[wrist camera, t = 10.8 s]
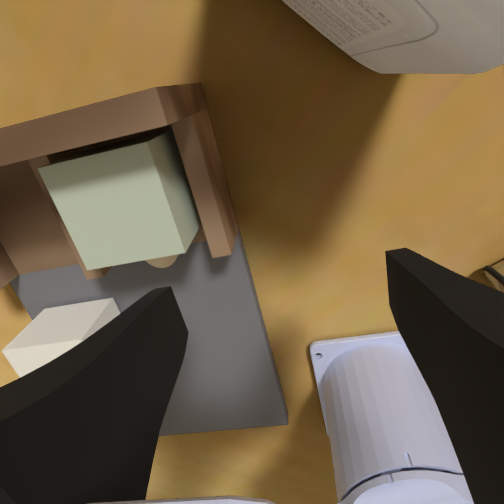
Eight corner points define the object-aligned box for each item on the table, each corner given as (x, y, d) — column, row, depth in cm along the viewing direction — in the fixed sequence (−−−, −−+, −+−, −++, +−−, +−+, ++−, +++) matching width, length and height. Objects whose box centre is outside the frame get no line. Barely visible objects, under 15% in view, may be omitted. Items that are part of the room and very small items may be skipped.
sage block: (211, 249, 20) (196, 286, 17) (132, 263, 21) (102, 301, 18) (174, 128, 18) (146, 141, 14) (84, 150, 18) (37, 168, 15)
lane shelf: (239, 228, 21) (220, 292, 15) (16, 269, 24) (-79, 339, 17) (200, 82, 18) (155, 86, 11) (-54, 149, 20) (-203, 182, 14)
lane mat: (288, 413, 28) (288, 424, 27) (110, 429, 30) (105, 440, 29) (239, 228, 21) (237, 234, 20) (16, 269, 24) (6, 277, 23)
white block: (169, 417, 27) (147, 485, 23) (111, 423, 28) (78, 489, 24) (113, 297, 23) (71, 352, 18) (44, 308, 23) (-12, 363, 19)
